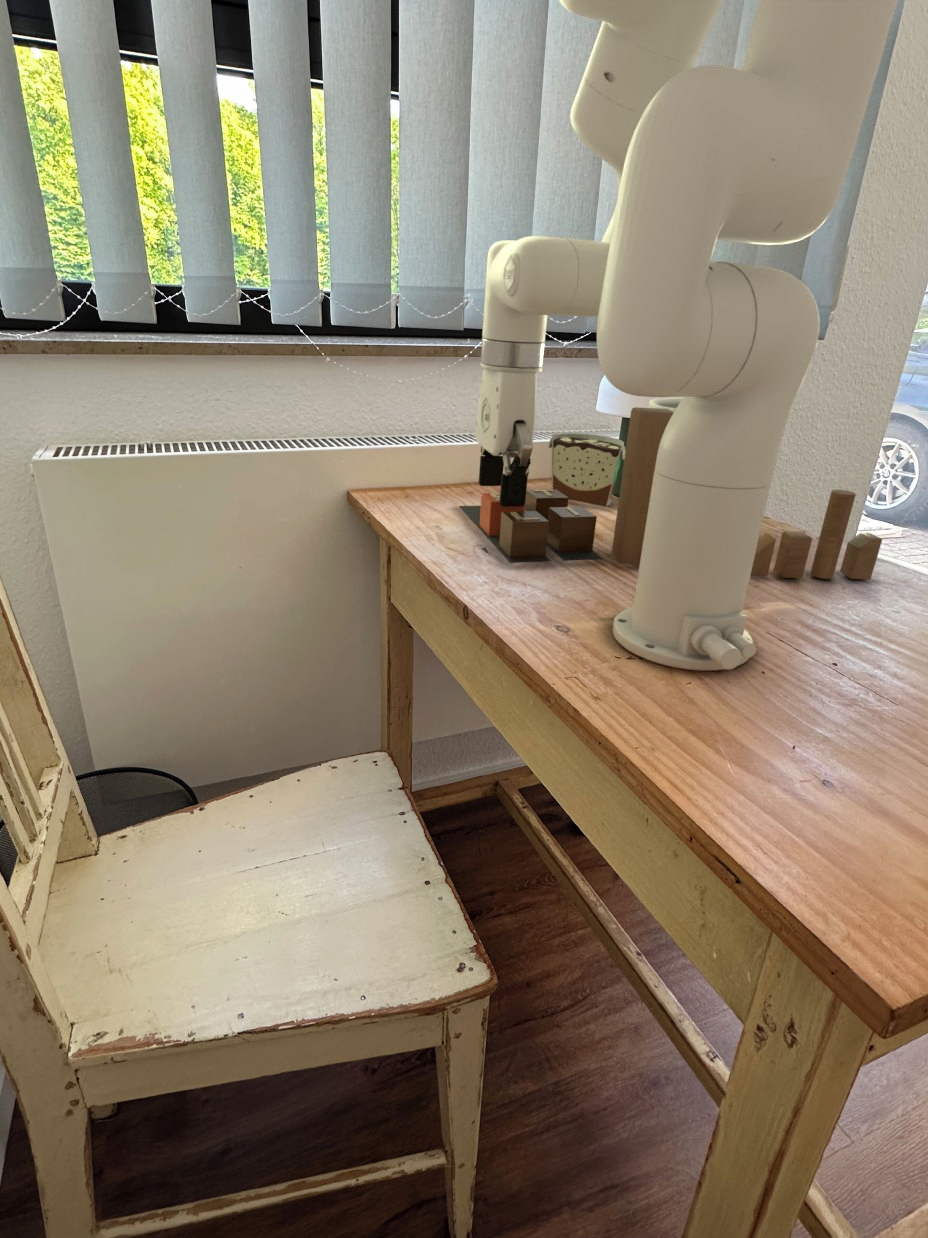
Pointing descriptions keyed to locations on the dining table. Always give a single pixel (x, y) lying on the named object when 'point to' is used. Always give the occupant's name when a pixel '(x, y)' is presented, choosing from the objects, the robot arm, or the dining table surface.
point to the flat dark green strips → (474, 515)
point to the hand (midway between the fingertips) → (500, 495)
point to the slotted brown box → (571, 529)
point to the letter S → (493, 513)
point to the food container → (586, 466)
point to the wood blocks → (821, 547)
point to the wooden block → (637, 481)
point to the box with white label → (523, 534)
